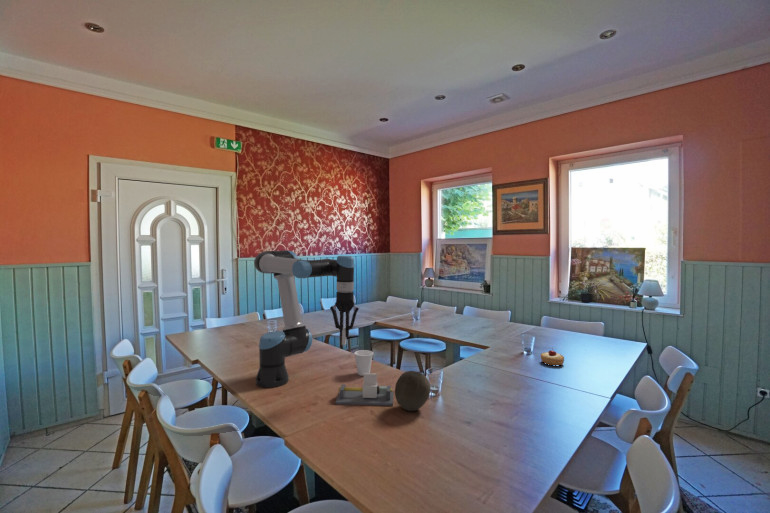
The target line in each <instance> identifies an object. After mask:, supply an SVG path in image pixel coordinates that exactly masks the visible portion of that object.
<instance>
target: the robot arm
mask: <svg viewBox="0 0 770 513" xmlns="http://www.w3.org/2000/svg"><path fill="white" fill-rule="evenodd" d="M253 265H254V267H255V270H257V271H258V272H259V273H261V274H267V275H269V274H273V278H274V279H275V280H277V284H278V292H279V293H278V294H279V297H280V304H281V310H282V316H283V322H284V326H283V328H282V331H281V330H275V331H269V332H266V333H264V334H263V335H261V336H260V337H259V345H258V348H259V349H258V350H259V352H258V354H259V355H258V356H259V366H258V367H259V368H258V371H257V375H256V377H255V386H257V387H259V388H264V389H265V388H276V387H280V386H283V385H285V384H287V383H288V382H289V373H288V371H287V366H286V363H285V362H286V358H287V357H292V356H295V355H299V354H303V353H305V352H307V351H309V350H310V348H311V347H312V344H313V334H312V332H311V330H310V329H309V328H306V327H307V326H306V324H304V323H303V322H302V316H301V309H300V304H299V299H298V292H297V287H296V280H295V278H296V279H308V278H319V277H321V278H323V277H336V291H335V292H336V293H335V294H336V295H335V296H336V297H335V298H336V299H335V303H334V304H333V305H331V306H330V308H329V309H330V311H331V313H332V318H333V320H334V321H333V322H334V326H335V329H338V330H339V337H340V338H341V346H346V345H347V338H349V336H350V330H351V329H352V330H353V328H354V324H355V320H356V318H357V313H358V311H359V310H360V306H357V305H356V304H355V302H354V296H355V295H354V293H355V292H354V290H355V257H354V256H352V255H338V256H337V257H336V259H332V258H331V259H330V258H322V259H301V258H299V255H297V253H296V252H294V251H292V250H286V249H285V250H284V249H283V250H264V251H261V252H259V253H258V254H257V255H256V256H255V258H254V264H253ZM352 309H353V314H352V317H351V320H350V313H351V311H352ZM337 310H338V311H339V318H338V313H337ZM344 313H345V318H344ZM344 319H345V328H344ZM350 321H351V322H350Z"/></svg>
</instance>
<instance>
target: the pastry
mask: <svg viewBox="0 0 770 513" xmlns="http://www.w3.org/2000/svg"><path fill="white" fill-rule="evenodd" d="M551 349H552V350H548V352H547V351H546V352H542V353H541V354H540V360H541V362H542V363H543V362H544V363H546V364H549V365H561V366H562V365H564V361H565V356H564V355H562V354H560V353H557V352H556V351H555V350H554V348H553V347H551ZM544 363H543V364H544ZM546 364H545V365H546ZM549 365H548V366H549Z"/></svg>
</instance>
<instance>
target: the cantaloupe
mask: <svg viewBox="0 0 770 513" xmlns="http://www.w3.org/2000/svg"><path fill="white" fill-rule="evenodd" d="M430 394H431V384H430V381H429V380H428V378H427V377H426V375H424V374H423V373H422V372H419V371H416V370H408V371H404V372H403V373H401V375H400V376H399V377H398V378H397V381H396V383H395V387H394V396H395V399H396V401H397V404H398V405H399V406H400V407H401V408H402V409H403V410H405V411H407V412H414V411H417V410H420V408H423V406H424V405H425V404H426V403H427V401H428V399H429V397H430Z"/></svg>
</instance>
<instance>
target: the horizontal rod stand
mask: <svg viewBox="0 0 770 513" xmlns="http://www.w3.org/2000/svg"><path fill="white" fill-rule="evenodd" d="M338 391H339V393H338V394H337V397H336V401H335V403H334V404H335V405H350V406H351V405H353V406H380V407H381V406H383V407H385V406H387V407H393V406H394V396H395V390H394V391H393V388H392V386H391V385H378V386H377V398H363V387H349V386H348V387H346V384H341V386H340V387H338Z"/></svg>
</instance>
